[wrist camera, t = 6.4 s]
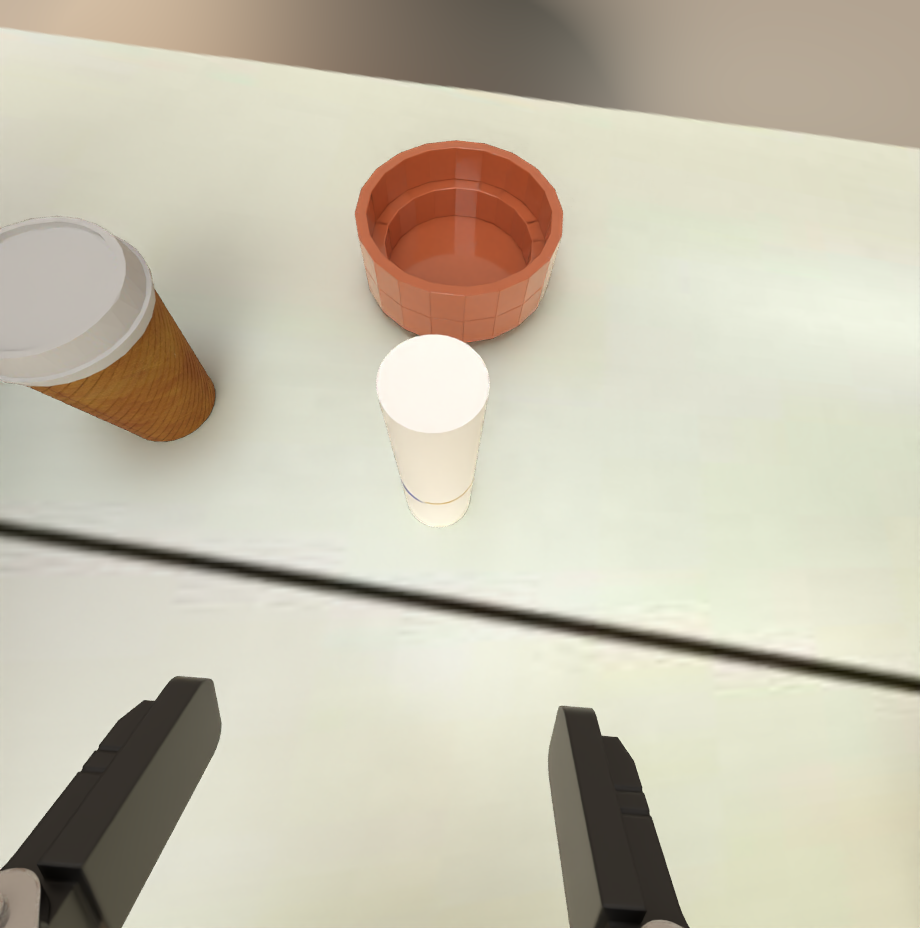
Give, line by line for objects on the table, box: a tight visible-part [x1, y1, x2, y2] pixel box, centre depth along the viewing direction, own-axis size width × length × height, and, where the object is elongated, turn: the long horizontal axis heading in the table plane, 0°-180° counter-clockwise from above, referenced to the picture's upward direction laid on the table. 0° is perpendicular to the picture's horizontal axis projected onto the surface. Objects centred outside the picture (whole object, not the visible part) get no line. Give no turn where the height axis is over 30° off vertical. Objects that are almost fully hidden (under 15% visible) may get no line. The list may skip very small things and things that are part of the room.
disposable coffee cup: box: [0, 216, 215, 441], centre depth 28 cm, size 10×10×12 cm
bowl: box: [355, 140, 563, 343], centre depth 36 cm, size 15×15×6 cm
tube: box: [376, 335, 490, 527], centre depth 25 cm, size 4×4×15 cm
